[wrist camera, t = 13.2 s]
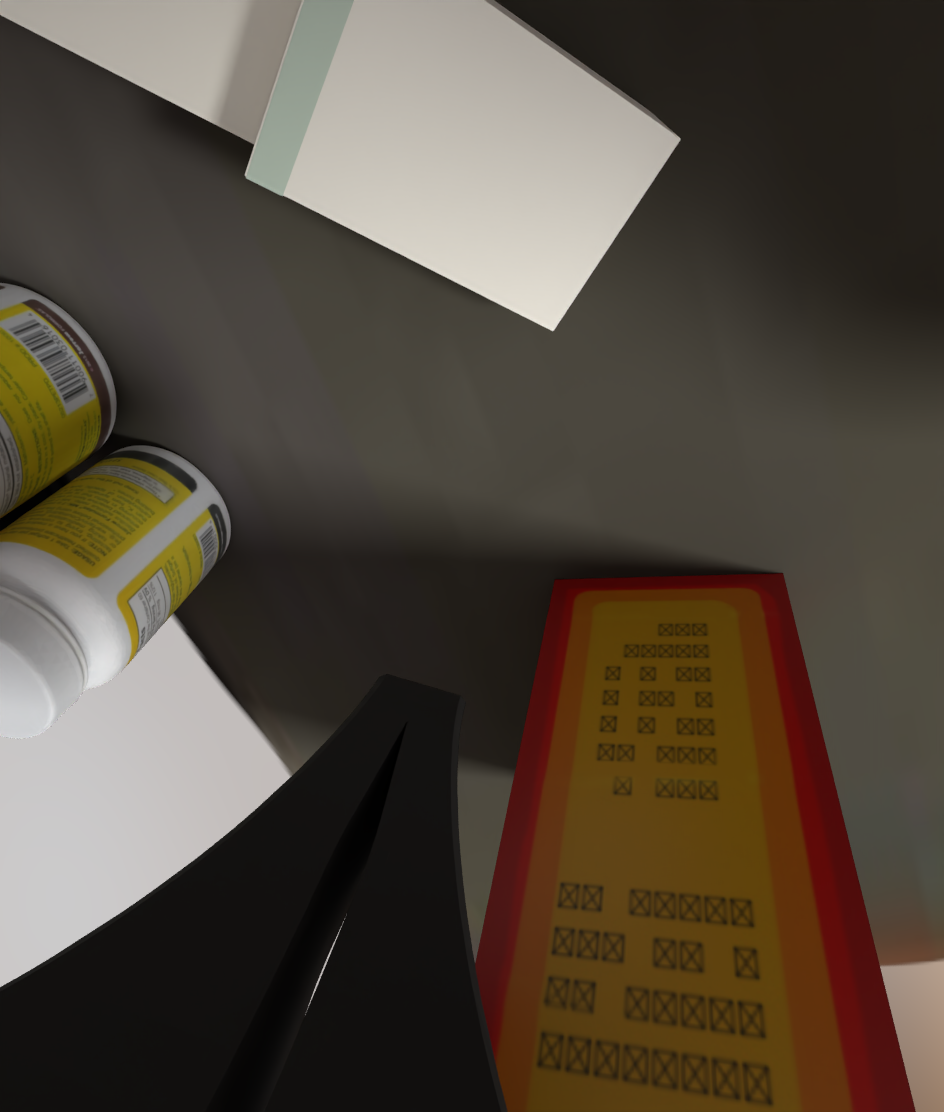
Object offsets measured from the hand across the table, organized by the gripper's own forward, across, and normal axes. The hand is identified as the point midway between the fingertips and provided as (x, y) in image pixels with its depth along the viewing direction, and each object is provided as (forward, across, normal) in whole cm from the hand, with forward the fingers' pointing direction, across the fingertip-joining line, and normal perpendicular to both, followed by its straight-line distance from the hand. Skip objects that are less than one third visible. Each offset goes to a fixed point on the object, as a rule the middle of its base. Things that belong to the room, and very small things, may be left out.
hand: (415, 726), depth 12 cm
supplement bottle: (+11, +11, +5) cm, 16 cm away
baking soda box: (+11, -7, +7) cm, 14 cm away
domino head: (+10, -1, -6) cm, 11 cm away
